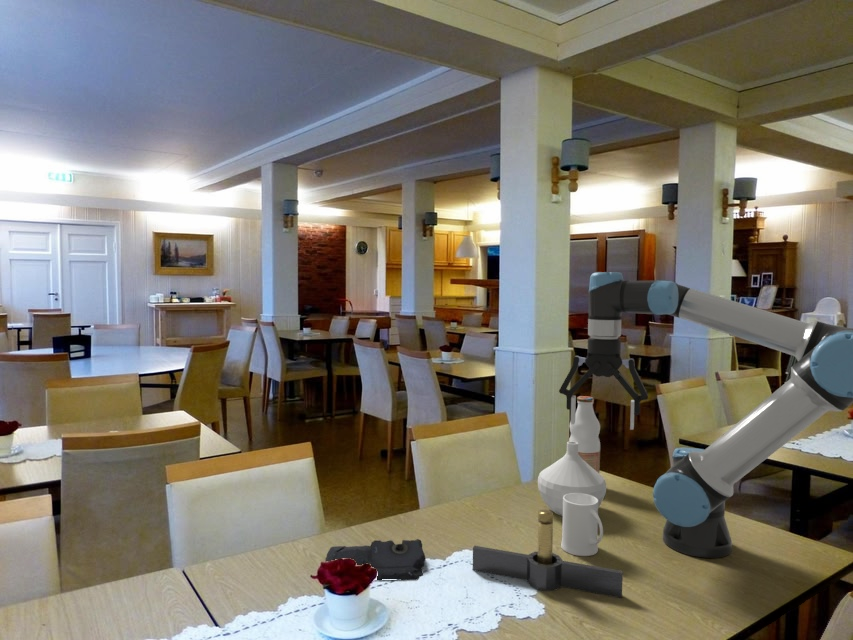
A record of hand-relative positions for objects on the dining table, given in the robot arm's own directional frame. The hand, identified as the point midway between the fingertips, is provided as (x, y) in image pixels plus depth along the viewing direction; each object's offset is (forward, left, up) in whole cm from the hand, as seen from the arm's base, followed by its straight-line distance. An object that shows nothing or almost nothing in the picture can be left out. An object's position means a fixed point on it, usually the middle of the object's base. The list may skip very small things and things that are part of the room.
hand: (601, 425), depth 142 cm
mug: (+3, +6, -29) cm, 30 cm away
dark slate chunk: (+45, +30, -29) cm, 62 cm away
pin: (+9, +24, -29) cm, 38 cm away
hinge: (+9, +24, -29) cm, 38 cm away
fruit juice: (+8, -39, -29) cm, 49 cm away
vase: (+9, -18, -29) cm, 35 cm away
